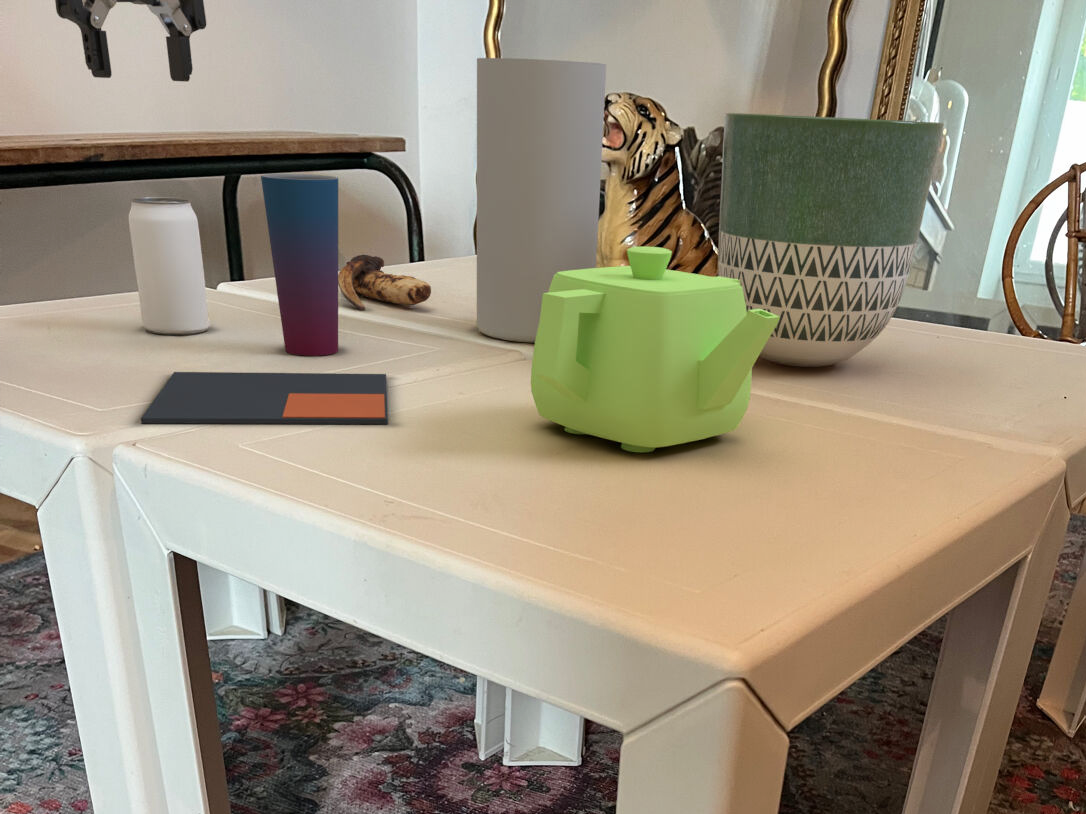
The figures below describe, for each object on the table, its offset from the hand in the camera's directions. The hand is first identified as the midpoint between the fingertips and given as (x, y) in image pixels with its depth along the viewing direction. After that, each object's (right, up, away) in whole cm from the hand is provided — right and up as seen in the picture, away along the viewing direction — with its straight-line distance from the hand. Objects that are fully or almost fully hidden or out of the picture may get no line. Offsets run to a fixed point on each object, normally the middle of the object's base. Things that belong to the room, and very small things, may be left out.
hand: (142, 79), depth 107 cm
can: (+1, -21, +8) cm, 23 cm away
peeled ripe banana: (+18, -11, +28) cm, 34 cm away
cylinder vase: (+37, -19, +14) cm, 44 cm away
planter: (+64, -25, +5) cm, 69 cm away
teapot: (+47, -41, -22) cm, 66 cm away
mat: (+17, -36, -16) cm, 43 cm away
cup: (+16, -26, +1) cm, 30 cm away
